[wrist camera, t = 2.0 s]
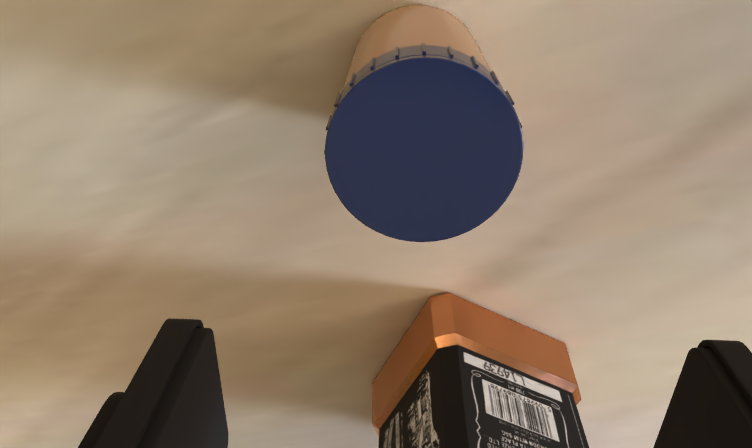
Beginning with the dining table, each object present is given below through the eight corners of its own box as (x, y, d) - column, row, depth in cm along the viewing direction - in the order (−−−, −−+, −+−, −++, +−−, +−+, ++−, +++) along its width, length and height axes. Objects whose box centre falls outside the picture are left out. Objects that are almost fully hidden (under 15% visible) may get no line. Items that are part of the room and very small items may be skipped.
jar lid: (535, 55, 20) (547, 69, 18) (494, 228, 23) (501, 253, 22) (336, 31, 20) (330, 43, 18) (323, 208, 23) (317, 232, 22)
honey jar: (493, 13, 28) (538, 69, 19) (468, 141, 31) (496, 242, 22) (357, -4, 28) (335, 45, 19) (346, 127, 31) (323, 223, 22)
